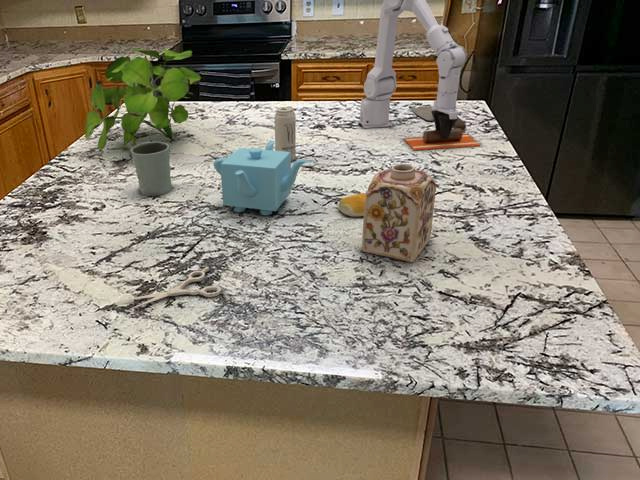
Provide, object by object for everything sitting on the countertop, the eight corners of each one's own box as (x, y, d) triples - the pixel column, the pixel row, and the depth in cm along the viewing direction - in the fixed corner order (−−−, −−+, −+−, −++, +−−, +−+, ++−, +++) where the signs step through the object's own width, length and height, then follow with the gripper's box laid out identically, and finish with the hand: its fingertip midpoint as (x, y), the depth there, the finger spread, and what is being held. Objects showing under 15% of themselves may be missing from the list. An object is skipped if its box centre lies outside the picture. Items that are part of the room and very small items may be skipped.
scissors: (229, 288, 119) (131, 317, 112) (229, 292, 119) (132, 320, 112) (207, 266, 127) (115, 291, 120) (208, 269, 127) (116, 295, 120)
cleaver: (472, 130, 195) (473, 123, 194) (443, 133, 194) (444, 126, 193) (434, 108, 220) (434, 102, 219) (408, 110, 219) (408, 104, 218)
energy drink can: (285, 164, 178) (284, 113, 170) (271, 160, 182) (270, 109, 174) (299, 159, 182) (299, 108, 174) (285, 155, 186) (284, 105, 178)
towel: (414, 150, 183) (414, 149, 182) (404, 139, 192) (404, 138, 192) (480, 146, 183) (480, 144, 183) (466, 135, 192) (466, 133, 192)
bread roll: (383, 210, 148) (384, 195, 146) (355, 220, 144) (356, 204, 142) (359, 200, 154) (360, 185, 152) (332, 209, 150) (333, 194, 148)
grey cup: (180, 185, 169) (175, 143, 162) (161, 199, 161) (156, 155, 155) (149, 181, 173) (143, 140, 166) (129, 194, 165) (123, 151, 159)
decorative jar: (413, 264, 125) (422, 181, 115) (360, 252, 130) (364, 172, 121) (431, 240, 133) (441, 161, 123) (380, 230, 138) (386, 154, 129)
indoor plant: (217, 140, 179) (158, 49, 163) (109, 199, 195) (45, 121, 179) (231, 85, 212) (182, 5, 197) (137, 139, 228) (86, 69, 213)
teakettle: (211, 200, 159) (206, 145, 151) (275, 186, 164) (274, 132, 157) (240, 228, 144) (236, 168, 136) (310, 211, 150) (310, 153, 142)
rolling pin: (423, 144, 188) (427, 140, 184) (422, 133, 188) (425, 128, 185) (458, 142, 188) (463, 137, 184) (457, 131, 189) (461, 126, 185)
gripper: (426, 86, 185) (421, 130, 192) (442, 98, 173) (437, 144, 180) (448, 84, 185) (443, 128, 193) (467, 96, 173) (460, 143, 180)
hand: (441, 136), depth 186 cm, fingers closed on rolling pin, 3 cm apart
